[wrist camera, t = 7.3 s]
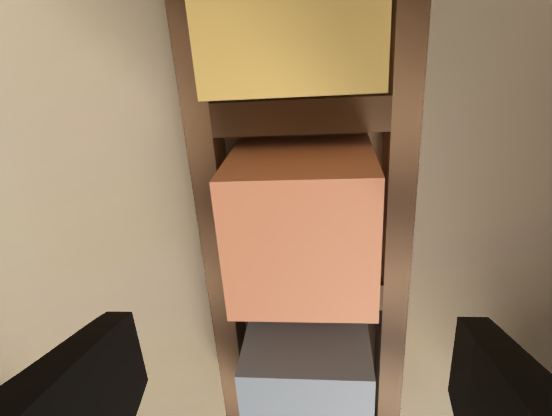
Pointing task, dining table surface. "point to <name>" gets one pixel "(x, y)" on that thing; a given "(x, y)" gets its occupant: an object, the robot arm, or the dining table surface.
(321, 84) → the ochre cube
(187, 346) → the dining table surface
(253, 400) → the slate cube
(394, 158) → the frame
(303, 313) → the terracotta cube
